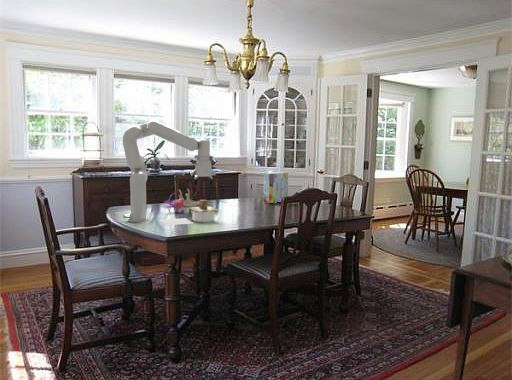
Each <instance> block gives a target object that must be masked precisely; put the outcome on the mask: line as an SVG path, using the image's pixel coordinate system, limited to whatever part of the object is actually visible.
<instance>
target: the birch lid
mask: <svg viewBox="0 0 512 380" xmlns="http://www.w3.org/2000/svg"><path fill="white" fill-rule="evenodd" d="M198 201H199V205H198V206H192V207H188V209H189V210H190V211H194V212H196V213H199V212H214V213H216V212H219V209H217V208H216V207H213V206H210V205H208V200H207V199H199V200H198Z"/></svg>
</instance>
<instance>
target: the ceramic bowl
mask: <svg viewBox="0 0 512 380" xmlns="http://www.w3.org/2000/svg"><path fill="white" fill-rule="evenodd" d="M191 211H192V210H191ZM191 214H192V216H191V217H192V221H194V222H200V223H210V222H214V221H215V212H199V213H196V212H194V211H192V213H191Z"/></svg>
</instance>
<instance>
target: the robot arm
mask: <svg viewBox="0 0 512 380" xmlns="http://www.w3.org/2000/svg"><path fill="white" fill-rule="evenodd" d="M153 135H155V136H157V137H159V138H161V139H163V140H166V141H167V142H169V143H172V144H175V145H177V146H179V147H181V148H183V149H186V150H188V151H197V156H195V160H196V162H195V168H194V169H193V170H192V171H190V176H191V177H192V178H193V184H194V186H198V178H199V177H200V178H201V177H208V185H209V186H212V184H213V179H214V178H215V176H216V174H217V171H215V170H213V169H212V166H213V165H212V161H210V158H211V157H210V155H211V154H210V153H211V152H210V150H211V149H210V147H211V146H210V145H211V141H210V140H209V139H205V138H203V139H202V138H201V139H196V138H192V137H190V136H188V135H185V134H184V133H182V132H180V131H179V130H177V129H176V128H173V127H171V126H168V125H167V124H165V123H163V122H160V121H158V120H155V119H151V120H150V121H148V122H145V123H142V124H139V125H131V126H130V127H128V128H126V130H125V131H124V133H123V135H122V147H123V150H124V155H125V156H124V157H125V160H126V164H127V166H128V168H129V169H130V172H131V173H130V174H131V175H130V177H129V187H130V212H129V213H128V214H123V215H122V218H123V219H127V220H128V222H131V223H141V222H147V221H148V222H149V220H150V219H149V217H147V186H146V185H147V181H148V173H147V169H146V164H145V161H144V158H143V156H142V155H141V154H140V151H139V146H138V140H140V139H143V138H147V137H149V136H153Z"/></svg>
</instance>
